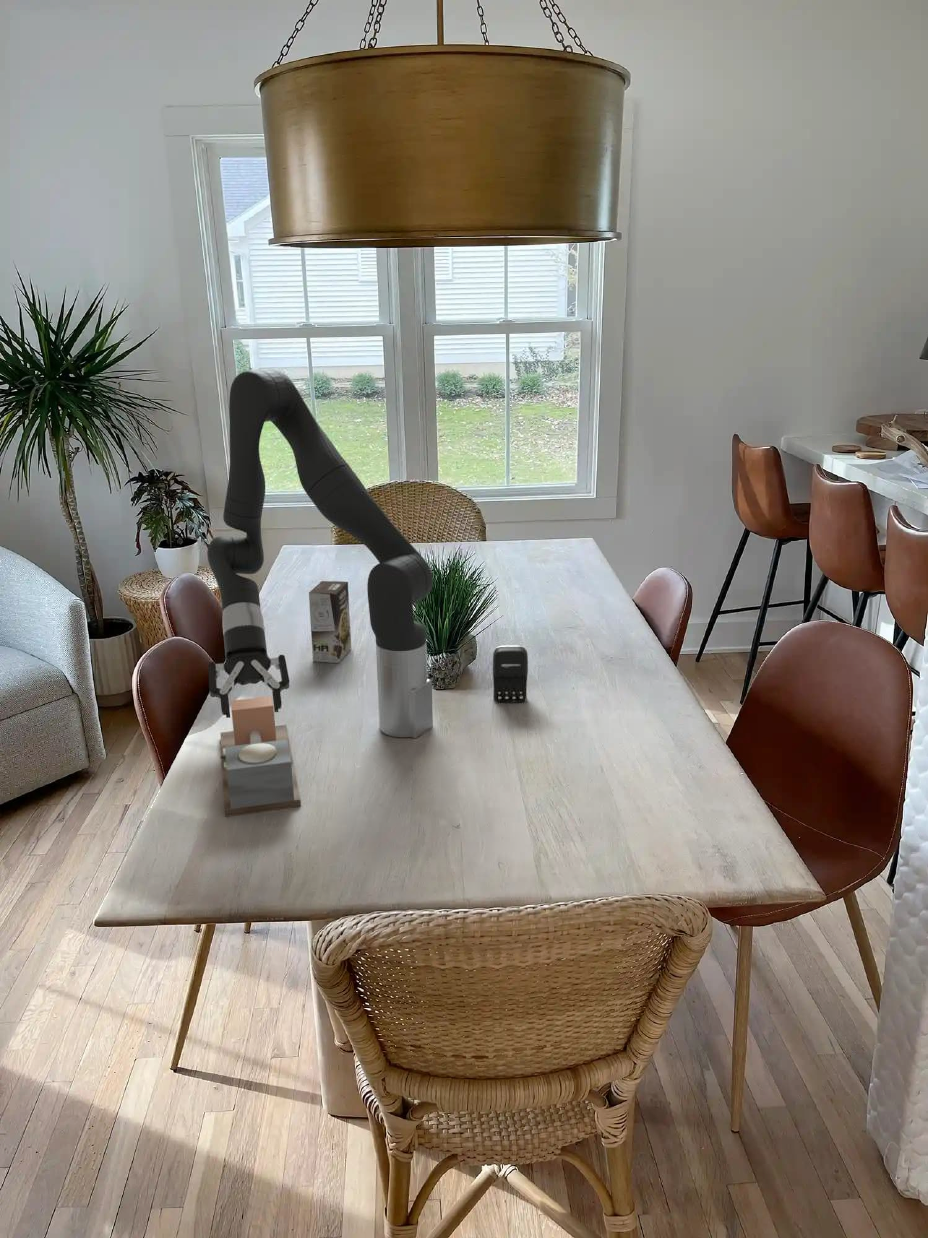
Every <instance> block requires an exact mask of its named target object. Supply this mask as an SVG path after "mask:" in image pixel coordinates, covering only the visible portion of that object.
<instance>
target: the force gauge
mask: <svg viewBox="0 0 928 1238" xmlns="http://www.w3.org/2000/svg"><path fill="white" fill-rule="evenodd" d="M275 731H276V741H270V742H262V743H253V744H245V745H237V746H235V740H234V731H233V730H230V731H222V732H220V750H221V751H220V752H221V753H220V754H221V756H225V755H226V758H224V759H221V768H222V791H223V795H222V796H223V809H224V810H223V811H224V812H223V813H224V817H230V816H231V817H232V816H238V815H239V816H240V815H246V814H252V813H260V812H266V811H267V812H268V811H274V810H275V811H276V810H283V809H289V808H296V807H297V808H298V807H301V806H302V802H301V795H300V788H299V784H298V781H297V774H296V770H295V763H294V759H293V754H292V749H291V743H290V738H289V733H288V728H287V724H283V725H282V724H280V725H275Z"/></svg>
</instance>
